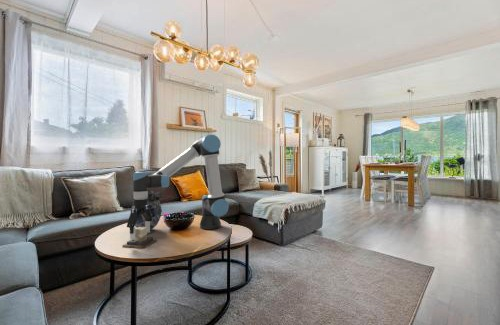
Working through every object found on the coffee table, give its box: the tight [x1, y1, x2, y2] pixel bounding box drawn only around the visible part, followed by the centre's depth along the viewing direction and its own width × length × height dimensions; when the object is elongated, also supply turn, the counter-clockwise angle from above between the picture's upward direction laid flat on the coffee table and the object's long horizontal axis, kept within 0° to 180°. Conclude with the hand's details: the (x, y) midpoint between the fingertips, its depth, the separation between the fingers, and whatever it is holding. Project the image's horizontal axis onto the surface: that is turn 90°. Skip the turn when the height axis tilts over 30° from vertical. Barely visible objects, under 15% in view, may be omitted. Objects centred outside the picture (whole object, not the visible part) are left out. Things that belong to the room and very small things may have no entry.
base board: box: [122, 236, 158, 249], centre depth 138 cm, size 13×13×2 cm
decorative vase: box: [130, 189, 163, 235], centre depth 160 cm, size 21×19×28 cm
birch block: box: [134, 227, 148, 242], centre depth 138 cm, size 5×5×8 cm
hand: (140, 235), depth 138 cm, fingers open, 13 cm apart
